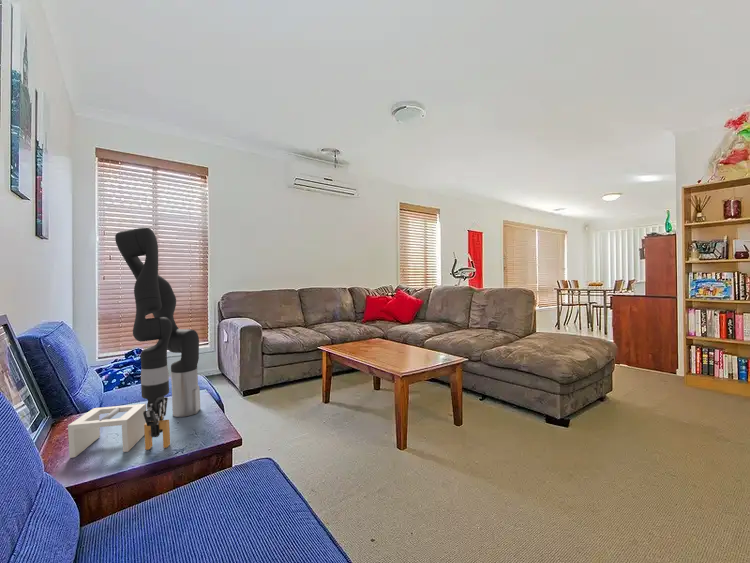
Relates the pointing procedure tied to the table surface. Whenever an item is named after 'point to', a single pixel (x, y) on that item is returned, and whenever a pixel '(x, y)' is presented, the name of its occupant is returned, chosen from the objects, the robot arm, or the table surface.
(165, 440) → the orange u-shaped bracket
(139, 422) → the open-topped stand
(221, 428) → the table surface
